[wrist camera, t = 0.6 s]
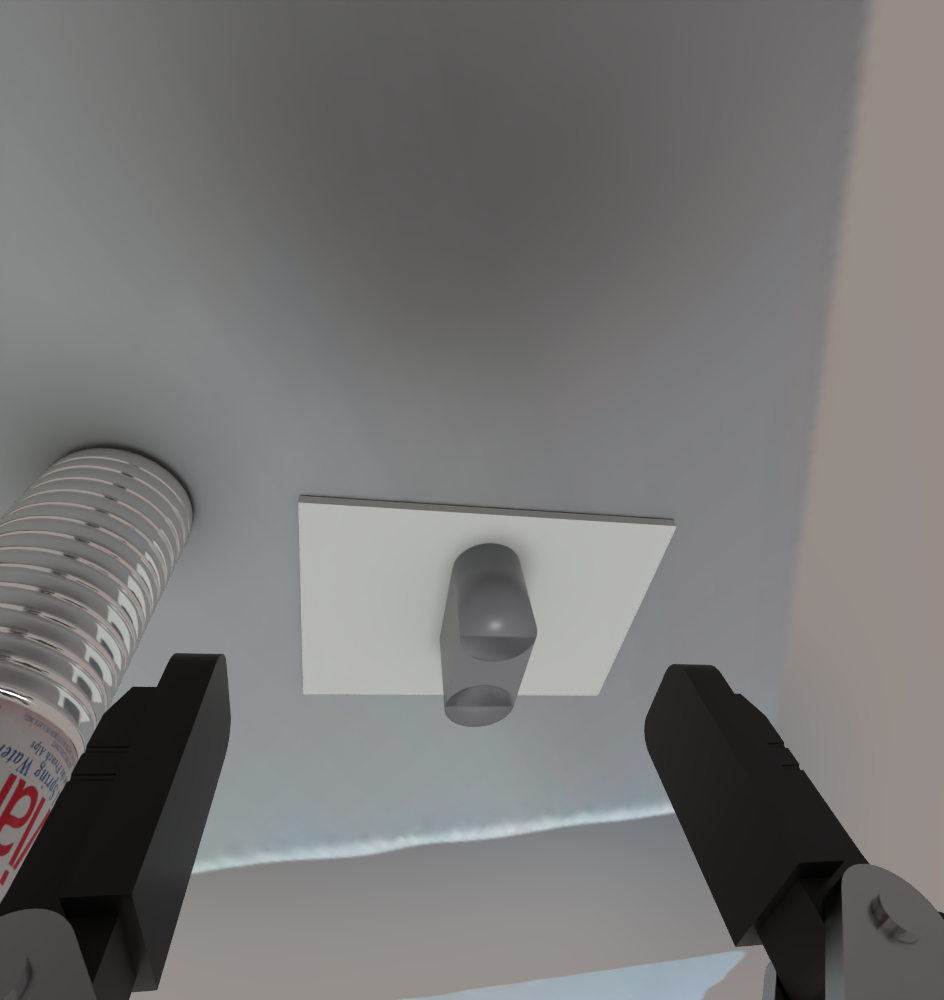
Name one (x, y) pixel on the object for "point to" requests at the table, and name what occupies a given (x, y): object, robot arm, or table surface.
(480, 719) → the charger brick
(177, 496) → the water bottle
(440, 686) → the rubber mat
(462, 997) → the table surface
